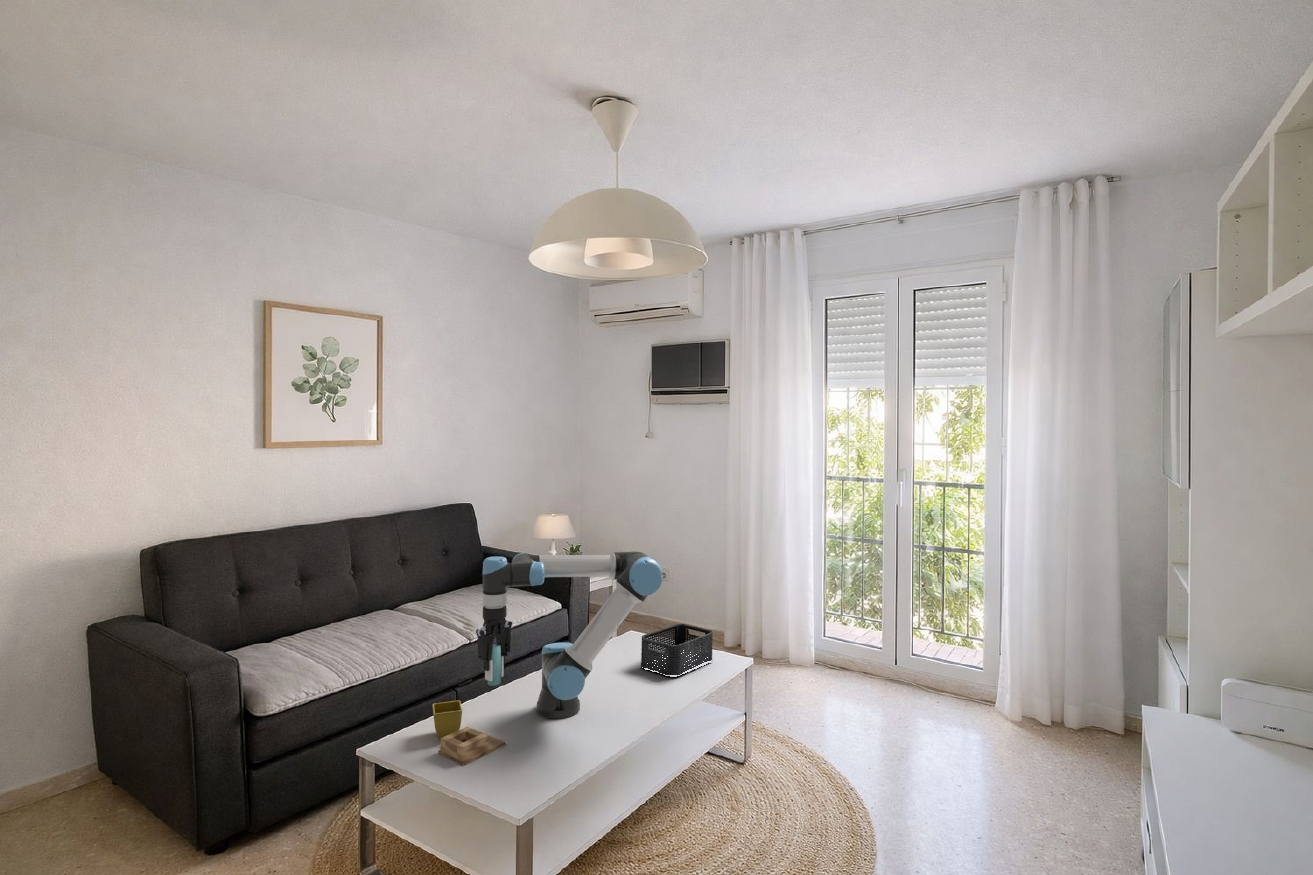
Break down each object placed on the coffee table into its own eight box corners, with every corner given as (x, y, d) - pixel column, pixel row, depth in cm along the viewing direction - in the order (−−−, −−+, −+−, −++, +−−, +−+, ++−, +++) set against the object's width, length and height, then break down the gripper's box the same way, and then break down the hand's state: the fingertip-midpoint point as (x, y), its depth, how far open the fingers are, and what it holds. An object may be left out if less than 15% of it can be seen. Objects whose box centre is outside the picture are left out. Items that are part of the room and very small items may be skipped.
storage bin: (679, 651, 304) (680, 621, 304) (715, 661, 292) (716, 630, 291) (637, 669, 282) (637, 636, 282) (674, 680, 270) (674, 646, 269)
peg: (494, 679, 224) (494, 643, 223) (503, 682, 221) (503, 645, 221) (485, 683, 220) (485, 646, 220) (493, 686, 218) (493, 649, 218)
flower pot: (432, 730, 223) (432, 703, 223) (460, 726, 226) (460, 699, 226) (433, 742, 215) (433, 713, 214) (462, 738, 218) (462, 710, 218)
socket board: (479, 734, 220) (480, 718, 220) (505, 744, 214) (505, 728, 213) (438, 753, 207) (438, 737, 207) (464, 765, 200) (464, 748, 200)
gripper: (506, 598, 230) (506, 667, 230) (465, 609, 216) (465, 683, 216) (522, 601, 225) (522, 672, 226) (481, 613, 211) (481, 688, 212)
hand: (494, 677), depth 221 cm, fingers closed on peg, 4 cm apart
